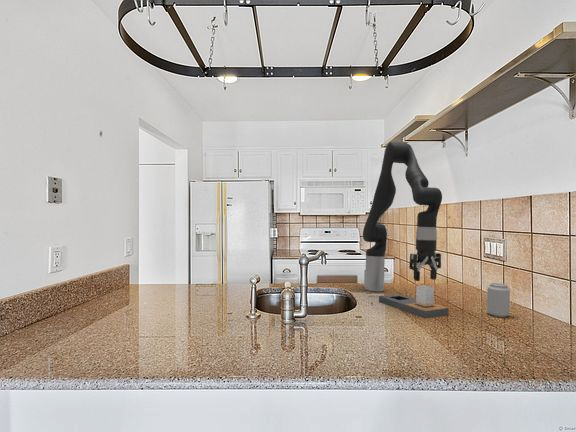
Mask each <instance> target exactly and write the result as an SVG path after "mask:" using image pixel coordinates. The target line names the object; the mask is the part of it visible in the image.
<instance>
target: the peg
mask: <svg viewBox="0 0 576 432" xmlns="http://www.w3.org/2000/svg"><path fill="white" fill-rule="evenodd" d="M415 289H416V293H415V295H416V297H415V299H416V305H418V306H421V307H424V308H428V307H434V304H435V302H434V301H435V300H434V299H435V298H434V297H435V286H430V285H425V284H424V285H416V288H415Z"/></svg>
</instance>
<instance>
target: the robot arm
mask: <svg viewBox="0 0 576 432" xmlns="http://www.w3.org/2000/svg"><path fill="white" fill-rule="evenodd" d="M416 157H417V156H416V155H415V152H414V149H413V148H412V146H411V145H410V144H409V143H407V142H401V141H389V142H388V143H387V145H386V147H385V150H384V154H383V159H382V164H381V170H380V174H379V178H378V182H377V185H376V189H375V192H374V196H373V199H372V202H371V207H370V211H369V214H368V216H367V218H366V221H365V223H364V226H363V229H362V230H363V231H362V238H363V240H364V241H365V242H366V243H374V245H372V246H371V247H370V248H367V249H366V251H365V269H364V274H363V275H364V282H363V283H364V284H363V288H364V290H365V291H369V292H370V291H371V292H384V291H385V255H386V250H387V239H388V230H387V227H386V225H385V224H383V223H378V221H379V220H380V218H381V217H382V216H383V215H384V214H385V213H386V212H387V211H388V210H389V209H390V208H391V206H392V204H393V203H394V200H395V196H396V193H397V187H396V184H395V181H394V178H393V173H392V171H393V165H394V163H395V164H404V165H405V166H406V170H405V173H404V175H405V180H406V182H407V183H408V185H409V187H410V188H411V193H412V200H413V201H414V203H415V204H417V205H418V206H428V207H427V209H426V210H424V211H419V212H418V213H417V217H416V218H417V219H416V220H417V221H416V231H415V232H416V233H415V250H416V253H410V255H409V265H408V266H409V267H408V269H409V270H412V271H413V280H414V281H416V282H420V279H421V269H422V268H423V267H424V266H429V268H430V280H437V274H438V273H437V271H438V269H441V268H442V254H441V253H439V252H436V251H437V243H438V242H437V239H438V238H437V237H438V236H437V235H438V233H437V232H438V231H437V220H438V219H437V218H438V217H437V216H438V214H439V212H440V211H439V209H440V207H441V203H442V199H443V193H442V191H441V190H440V188H438V187H429V185H430V184H429V180H428V178H427V177H426V175H425V174H424V172H423V171H422V169H421V167H420V165H419V163H418V160H417V158H416Z"/></svg>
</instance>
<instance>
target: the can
mask: <svg viewBox="0 0 576 432" xmlns="http://www.w3.org/2000/svg"><path fill="white" fill-rule="evenodd" d="M486 291H487V293H486V312H487V313H488V315H490V316H493V317H496V316H498V317H497V318H506V316H507V317H508V316H509V315H510V305H511V304H510V302H511V301H510V299H511V294H510V293H511V289H510V288H509V285H508V284H505V283H499V282H489V285H488V286H487V289H486Z"/></svg>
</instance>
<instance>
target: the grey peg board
mask: <svg viewBox="0 0 576 432" xmlns="http://www.w3.org/2000/svg"><path fill="white" fill-rule="evenodd" d="M378 302H379V303H381V304H383V305H386V306H389V307H392V308H394V309H395V308H396V309H399V310H401V311H403V312H406V313H407V312H408V313H411V314H413V315H416V316H418V317H422V318H425V319H426V318H427V319H428V318H433V317H434V318H435V317H440V316H441V317H442V316H446V315H447V316H448V315H449V307H448V306H444V305H441V304H438V303H434V307H428V308H424V307H421V306H418V305H416V297H411V296H408V295H404V294H398V293H397V294H389V295H388V294H387V295H386V294H385V295H379V296H378Z"/></svg>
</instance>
